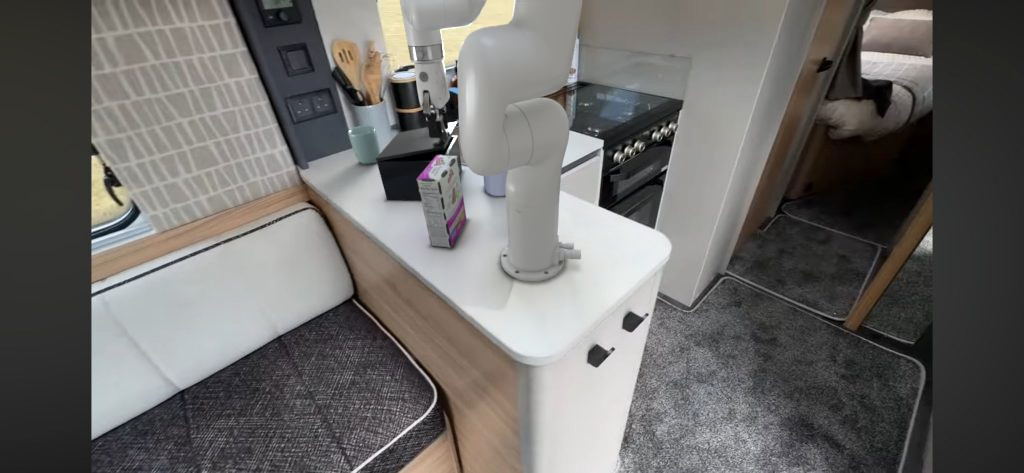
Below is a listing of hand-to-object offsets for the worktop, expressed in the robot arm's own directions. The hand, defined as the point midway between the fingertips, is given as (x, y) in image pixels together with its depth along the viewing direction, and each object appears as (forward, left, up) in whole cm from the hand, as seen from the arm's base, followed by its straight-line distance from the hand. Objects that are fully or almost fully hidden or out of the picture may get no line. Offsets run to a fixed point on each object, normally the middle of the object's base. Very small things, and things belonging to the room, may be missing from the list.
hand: (439, 132), depth 93 cm
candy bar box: (-5, +22, -15) cm, 27 cm away
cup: (+28, -15, -15) cm, 35 cm away
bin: (+6, 0, -15) cm, 16 cm away
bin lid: (+5, 0, -2) cm, 6 cm away
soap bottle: (-15, +2, -15) cm, 21 cm away
